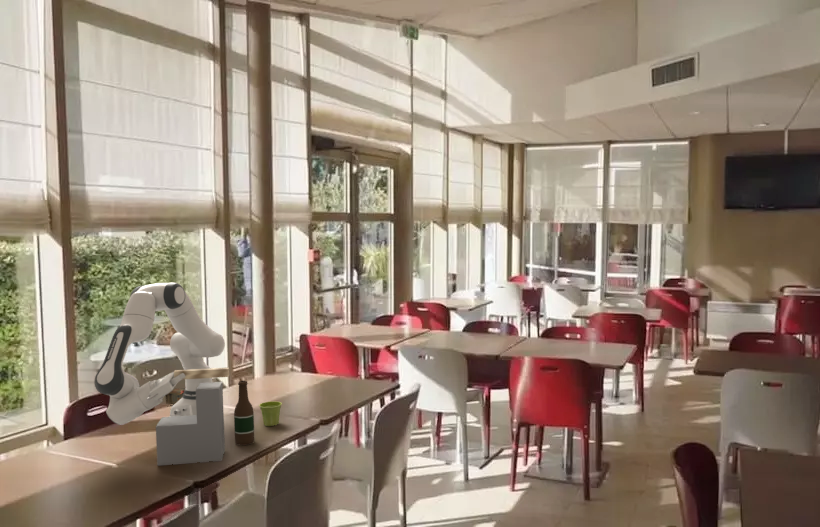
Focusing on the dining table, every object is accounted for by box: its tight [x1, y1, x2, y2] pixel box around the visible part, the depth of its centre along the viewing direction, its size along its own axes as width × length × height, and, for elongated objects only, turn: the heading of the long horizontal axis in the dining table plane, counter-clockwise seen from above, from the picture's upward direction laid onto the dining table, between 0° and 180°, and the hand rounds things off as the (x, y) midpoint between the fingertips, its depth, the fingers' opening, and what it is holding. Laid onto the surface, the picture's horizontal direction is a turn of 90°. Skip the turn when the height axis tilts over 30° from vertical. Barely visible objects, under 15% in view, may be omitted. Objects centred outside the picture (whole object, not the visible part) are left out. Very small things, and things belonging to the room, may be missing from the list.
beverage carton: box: [164, 387, 186, 405], centre depth 332 cm, size 8×19×7 cm, turn 81°
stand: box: [155, 381, 226, 466], centre depth 251 cm, size 22×12×26 cm, turn 100°
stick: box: [173, 367, 230, 381], centre depth 251 cm, size 19×2×3 cm, turn 100°
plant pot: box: [258, 400, 283, 427], centre depth 292 cm, size 9×9×9 cm
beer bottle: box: [233, 380, 255, 446], centre depth 268 cm, size 8×8×24 cm
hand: (185, 373), depth 250 cm, fingers closed on stick, 2 cm apart
